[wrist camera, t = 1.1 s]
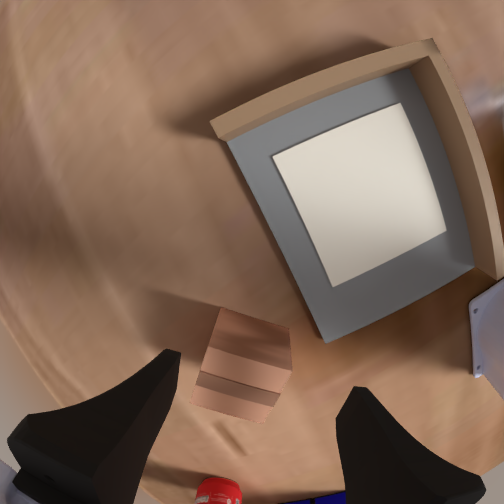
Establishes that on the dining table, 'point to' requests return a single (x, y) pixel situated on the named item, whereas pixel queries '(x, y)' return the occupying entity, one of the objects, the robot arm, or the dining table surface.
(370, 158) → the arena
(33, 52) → the dining table surface
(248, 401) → the block
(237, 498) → the beverage can
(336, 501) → the puzzle cube
